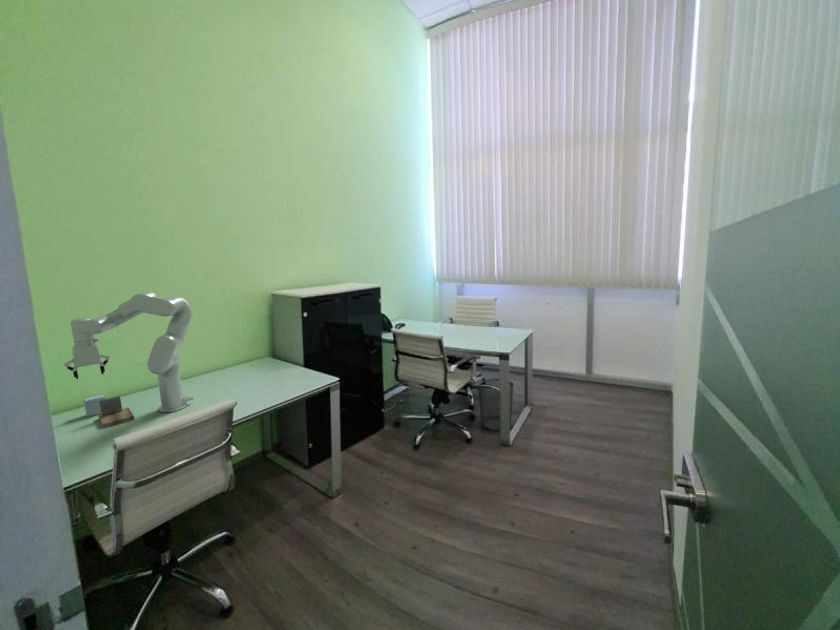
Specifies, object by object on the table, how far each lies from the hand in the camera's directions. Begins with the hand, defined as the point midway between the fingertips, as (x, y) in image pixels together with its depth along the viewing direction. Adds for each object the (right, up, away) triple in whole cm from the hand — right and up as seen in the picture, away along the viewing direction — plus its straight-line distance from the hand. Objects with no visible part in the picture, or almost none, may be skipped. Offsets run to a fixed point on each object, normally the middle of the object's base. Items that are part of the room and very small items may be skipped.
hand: (90, 376), depth 189 cm
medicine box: (0, -20, +4) cm, 21 cm away
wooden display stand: (+15, -21, -2) cm, 26 cm away
